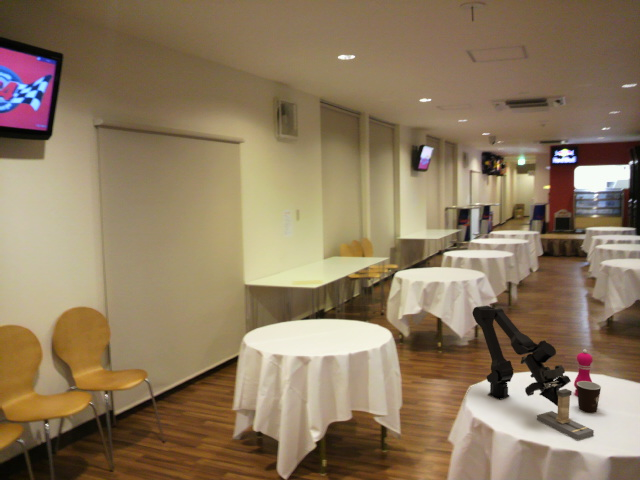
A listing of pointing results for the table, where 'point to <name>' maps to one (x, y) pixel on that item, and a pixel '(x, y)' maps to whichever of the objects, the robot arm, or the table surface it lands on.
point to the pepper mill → (583, 368)
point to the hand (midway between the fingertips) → (560, 406)
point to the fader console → (565, 426)
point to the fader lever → (563, 405)
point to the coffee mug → (588, 396)
